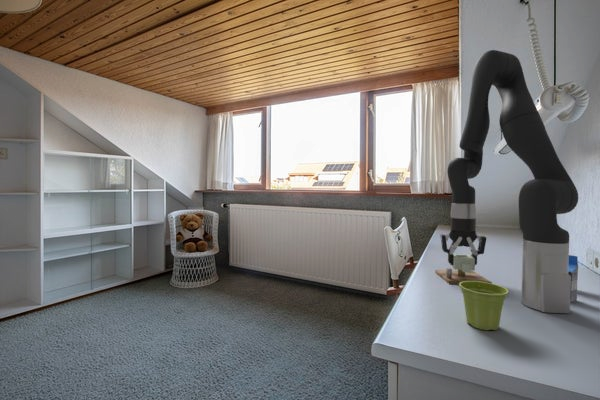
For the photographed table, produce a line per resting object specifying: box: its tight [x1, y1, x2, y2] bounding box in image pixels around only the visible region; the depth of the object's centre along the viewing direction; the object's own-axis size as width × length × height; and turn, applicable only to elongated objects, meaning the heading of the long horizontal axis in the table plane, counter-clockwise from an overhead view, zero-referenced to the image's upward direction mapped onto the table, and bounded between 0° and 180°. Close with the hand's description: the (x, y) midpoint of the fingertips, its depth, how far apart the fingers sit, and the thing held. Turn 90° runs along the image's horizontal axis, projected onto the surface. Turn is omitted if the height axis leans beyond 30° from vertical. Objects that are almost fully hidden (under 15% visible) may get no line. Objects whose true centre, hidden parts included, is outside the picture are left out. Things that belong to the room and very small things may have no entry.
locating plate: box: [435, 267, 493, 285], centre depth 101 cm, size 13×13×4 cm
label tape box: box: [568, 254, 579, 303], centre depth 83 cm, size 9×4×12 cm, turn 27°
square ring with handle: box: [450, 253, 476, 273], centre depth 99 cm, size 10×6×4 cm, turn 165°
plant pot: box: [458, 281, 510, 331], centre depth 66 cm, size 9×9×9 cm
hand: (462, 265), depth 101 cm, fingers closed on square ring with handle, 6 cm apart
